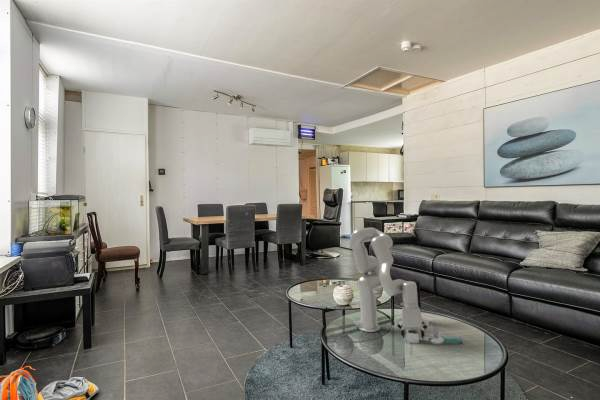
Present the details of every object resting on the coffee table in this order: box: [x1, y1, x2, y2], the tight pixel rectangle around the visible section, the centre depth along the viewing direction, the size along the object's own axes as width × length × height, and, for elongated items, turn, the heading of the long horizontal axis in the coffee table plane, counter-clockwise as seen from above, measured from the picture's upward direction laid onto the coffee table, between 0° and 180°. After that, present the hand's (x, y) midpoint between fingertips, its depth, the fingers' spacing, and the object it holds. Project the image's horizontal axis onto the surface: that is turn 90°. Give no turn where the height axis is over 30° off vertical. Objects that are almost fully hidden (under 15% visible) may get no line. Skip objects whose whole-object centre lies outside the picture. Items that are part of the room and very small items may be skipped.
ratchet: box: [427, 327, 463, 346], centre depth 172 cm, size 16×8×7 cm, turn 77°
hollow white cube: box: [405, 328, 420, 344], centre depth 176 cm, size 6×6×5 cm
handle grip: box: [407, 278, 425, 325], centre depth 204 cm, size 10×26×10 cm
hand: (413, 337), depth 175 cm, fingers open, 9 cm apart
